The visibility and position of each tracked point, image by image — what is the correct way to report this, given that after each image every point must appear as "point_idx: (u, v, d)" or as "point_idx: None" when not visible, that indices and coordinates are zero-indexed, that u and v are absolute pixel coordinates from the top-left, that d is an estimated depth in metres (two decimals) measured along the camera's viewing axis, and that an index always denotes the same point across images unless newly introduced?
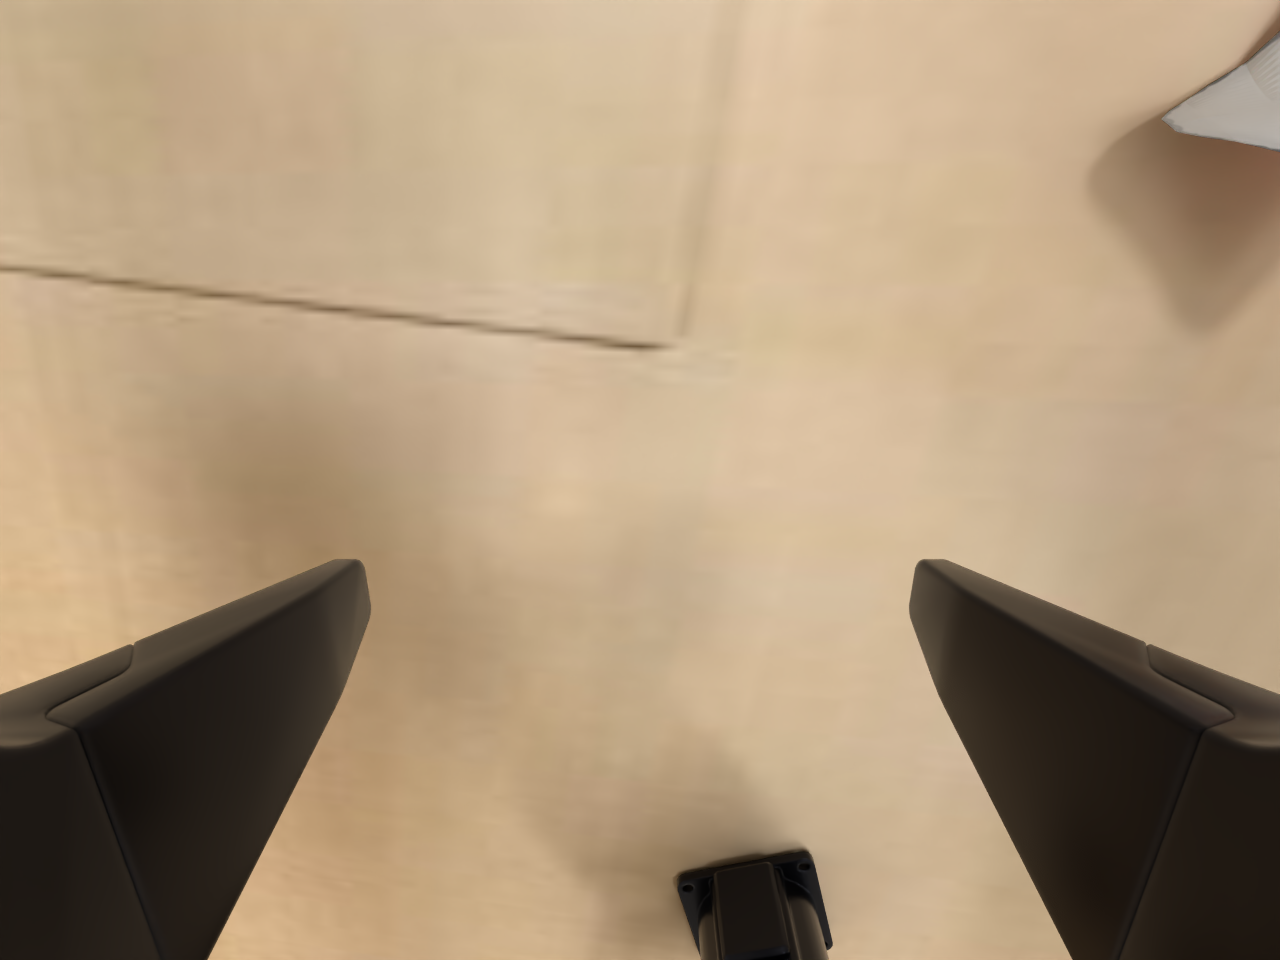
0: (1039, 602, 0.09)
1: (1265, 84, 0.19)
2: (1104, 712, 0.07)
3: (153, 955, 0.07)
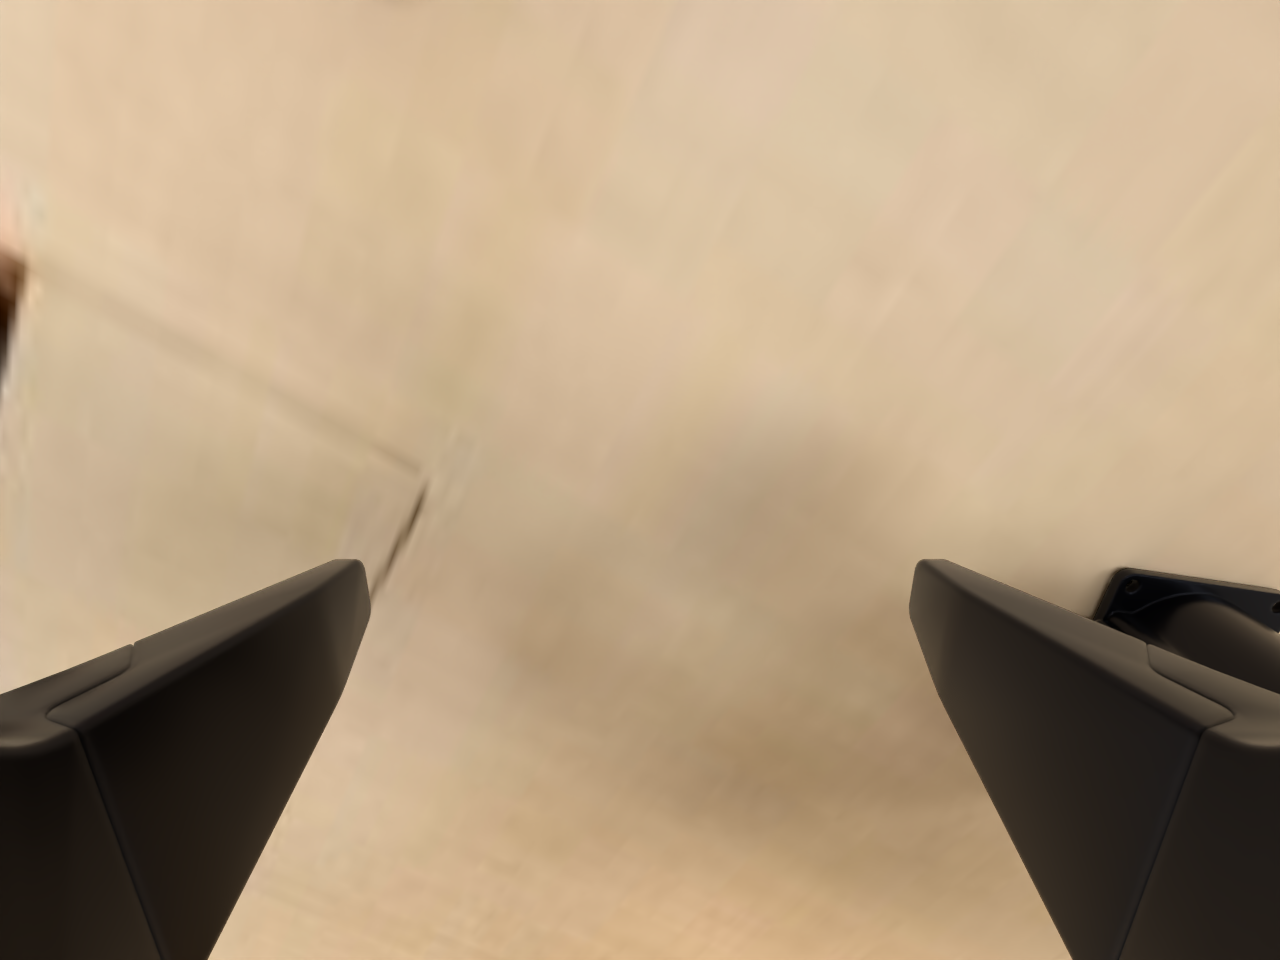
0: (1039, 602, 0.09)
1: None
2: (1104, 712, 0.07)
3: (154, 955, 0.07)
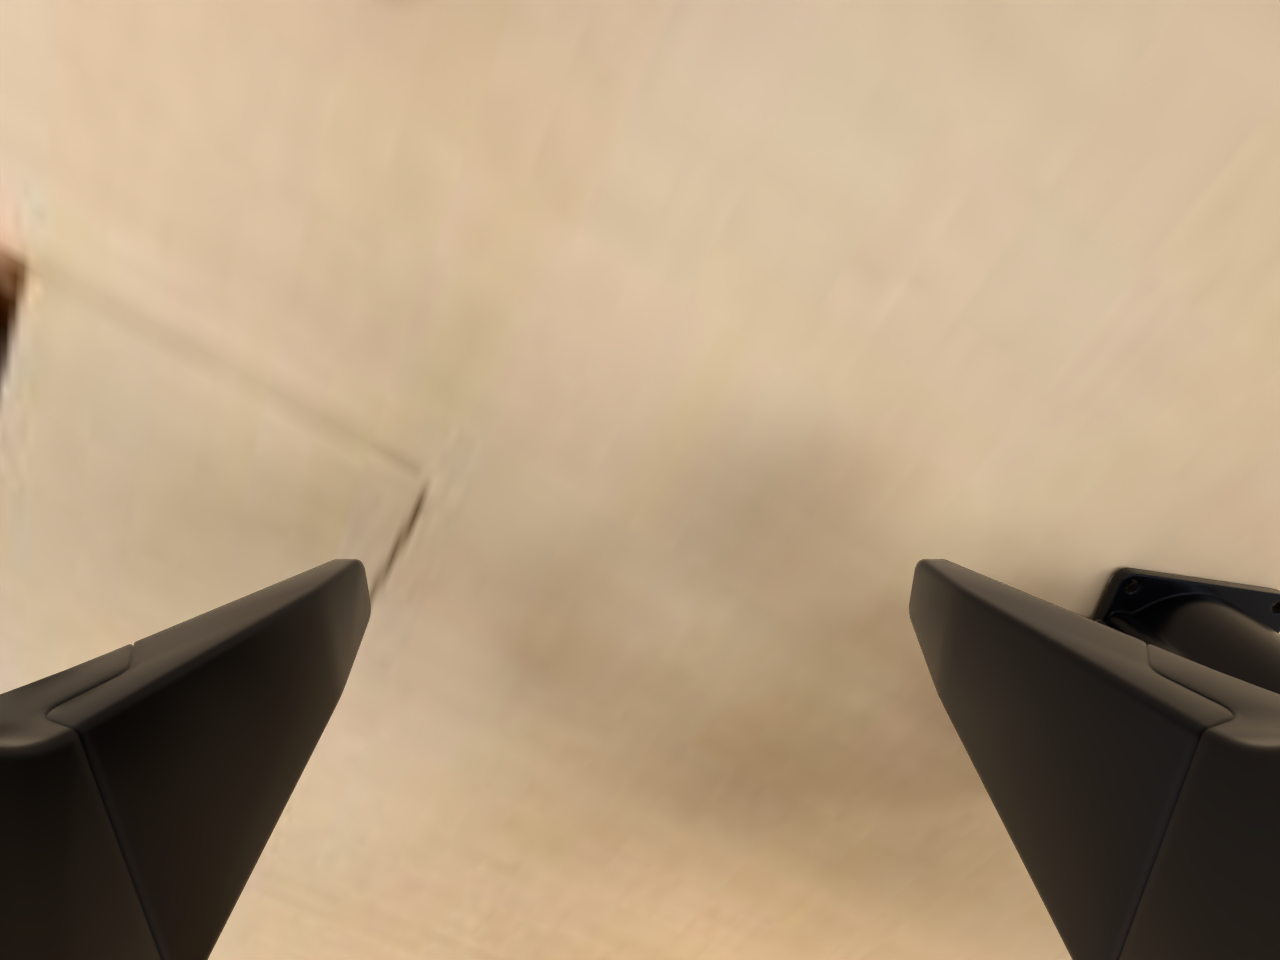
0: (1039, 602, 0.09)
1: None
2: (1104, 712, 0.07)
3: (154, 955, 0.07)
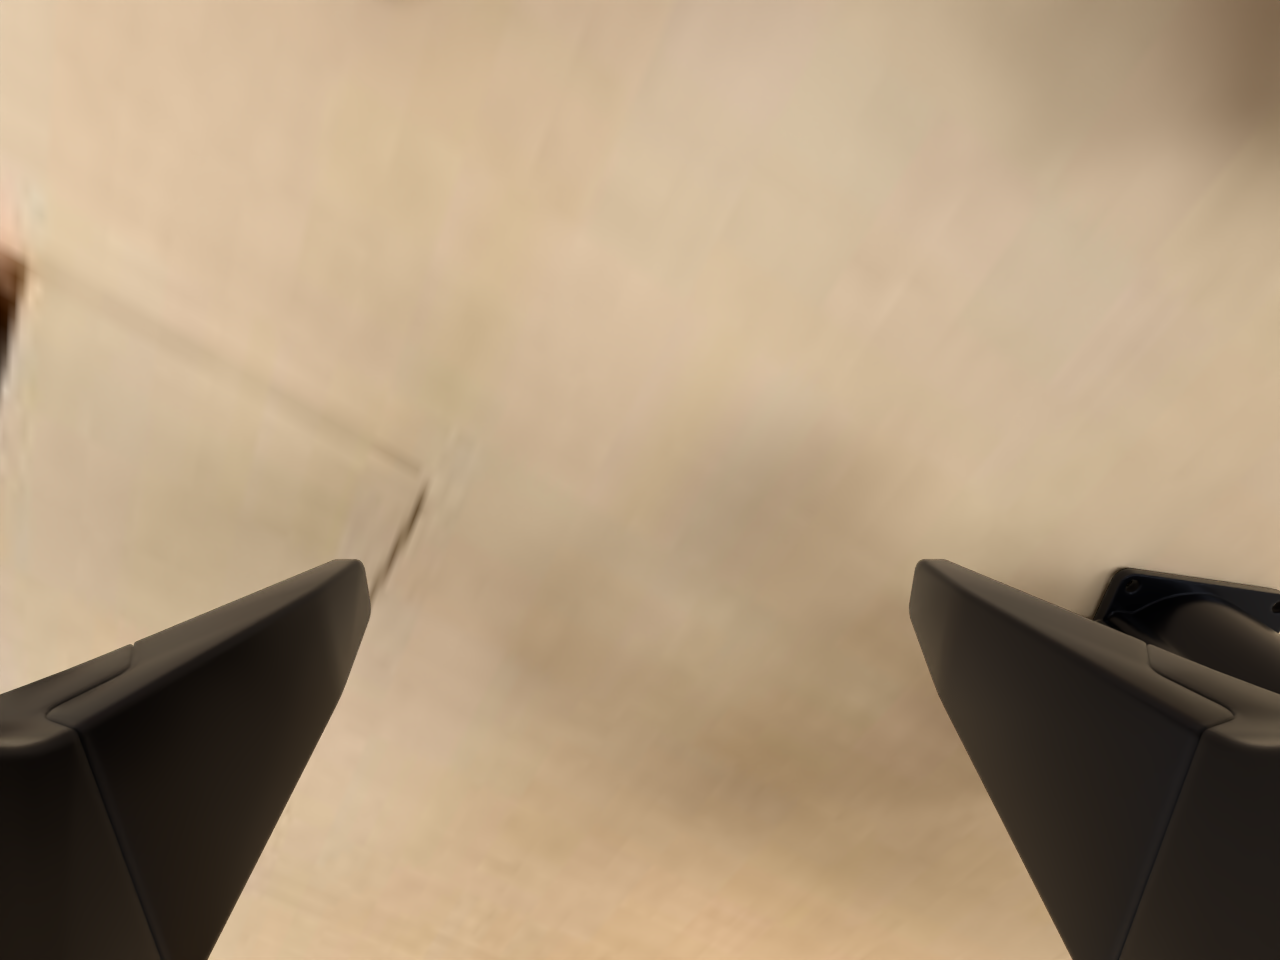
0: (1039, 602, 0.09)
1: None
2: (1104, 712, 0.07)
3: (154, 955, 0.07)
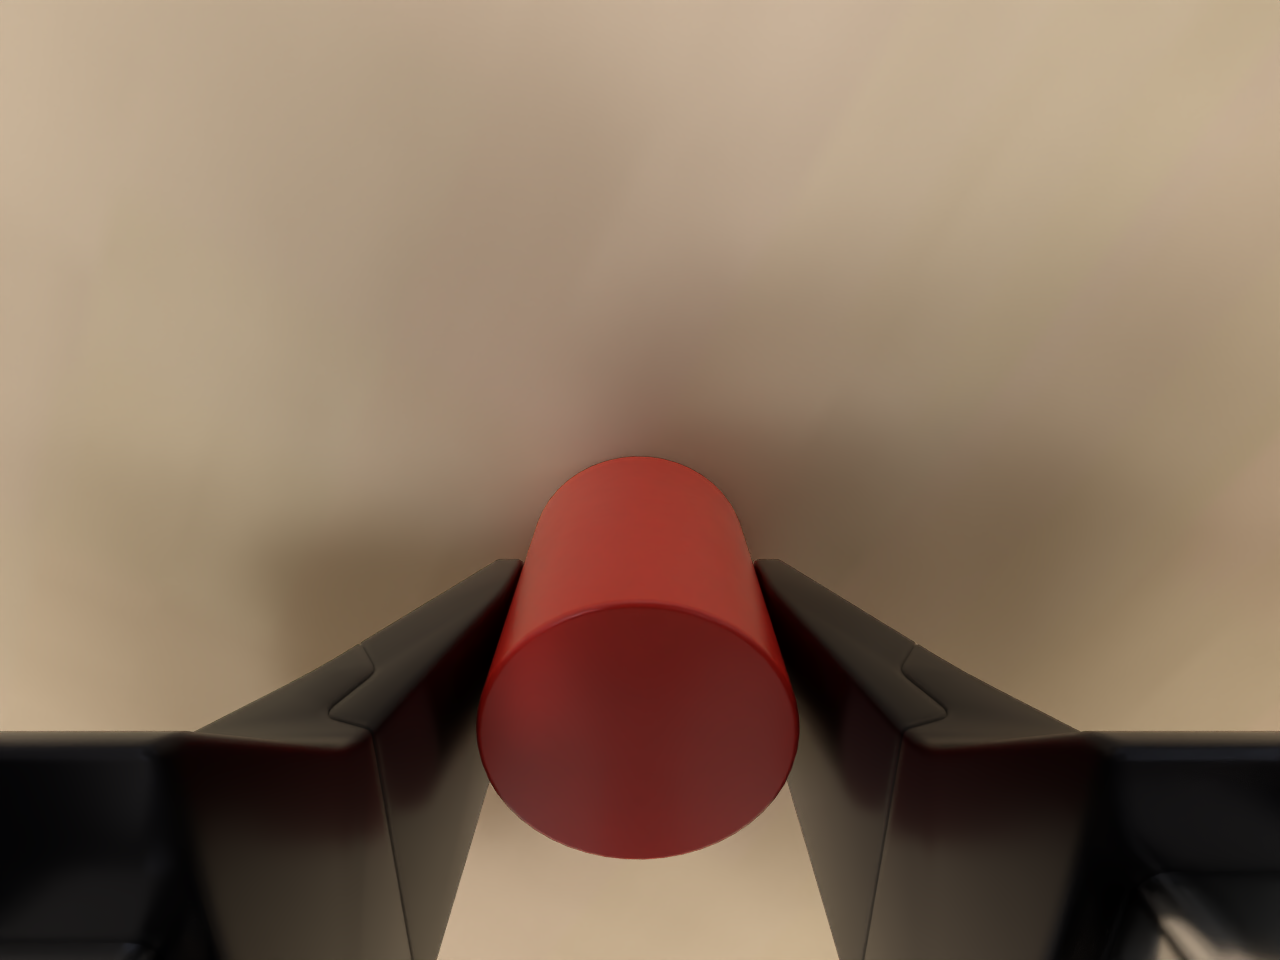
0: (839, 602, 0.09)
1: None
2: (850, 712, 0.07)
3: (401, 954, 0.07)
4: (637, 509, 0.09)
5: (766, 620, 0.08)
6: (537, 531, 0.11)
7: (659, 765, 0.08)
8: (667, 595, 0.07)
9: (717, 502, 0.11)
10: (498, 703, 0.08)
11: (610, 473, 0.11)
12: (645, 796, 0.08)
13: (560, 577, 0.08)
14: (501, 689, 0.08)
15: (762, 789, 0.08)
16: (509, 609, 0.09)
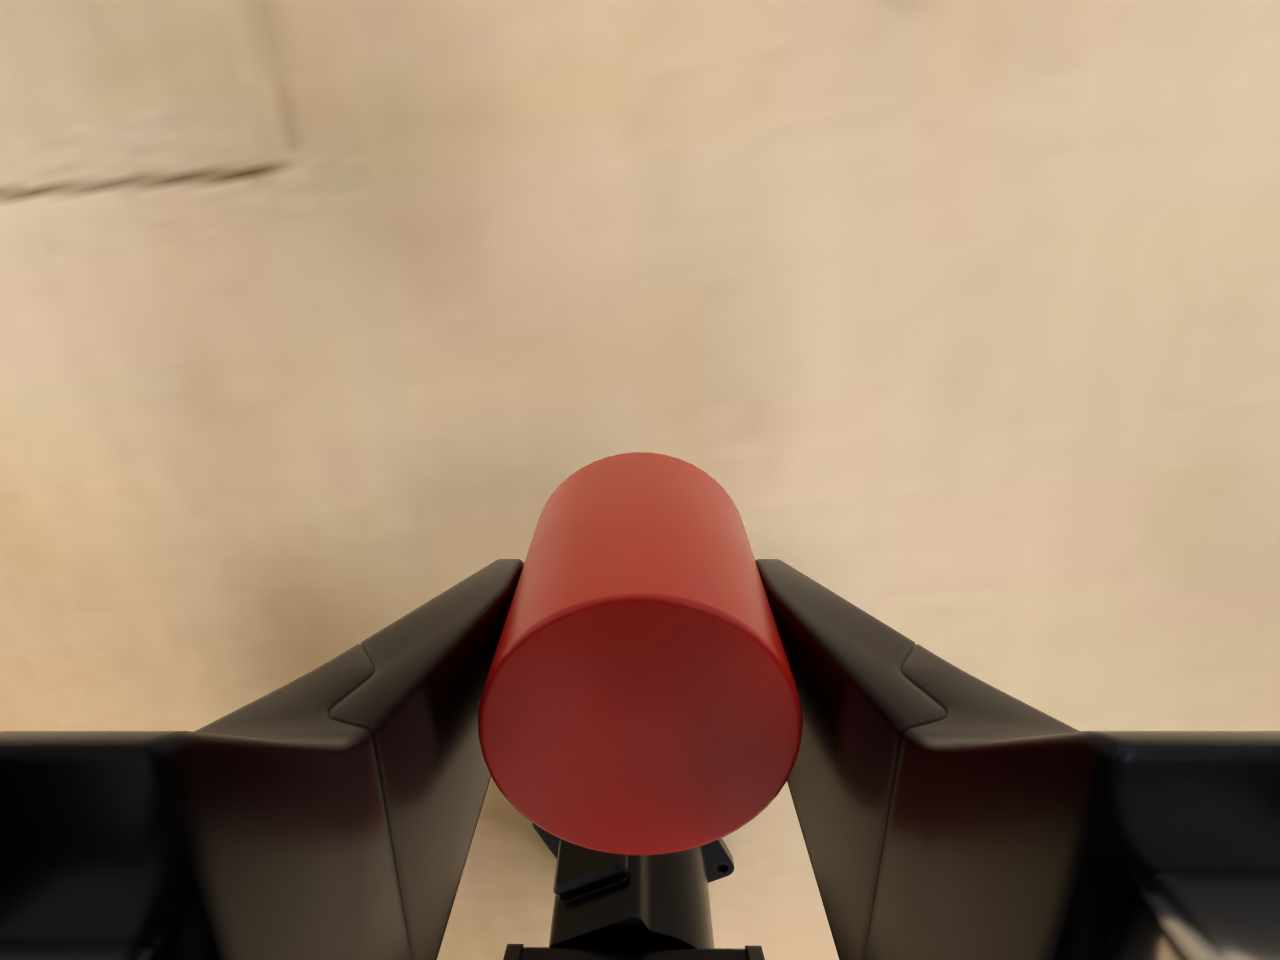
0: (839, 602, 0.09)
1: None
2: (850, 712, 0.07)
3: (400, 955, 0.07)
4: (640, 504, 0.09)
5: (769, 616, 0.08)
6: (539, 527, 0.11)
7: (660, 761, 0.08)
8: (671, 590, 0.07)
9: (719, 498, 0.11)
10: (500, 698, 0.08)
11: (612, 469, 0.11)
12: (647, 792, 0.08)
13: (563, 572, 0.08)
14: (503, 685, 0.08)
15: (765, 785, 0.08)
16: (511, 604, 0.09)
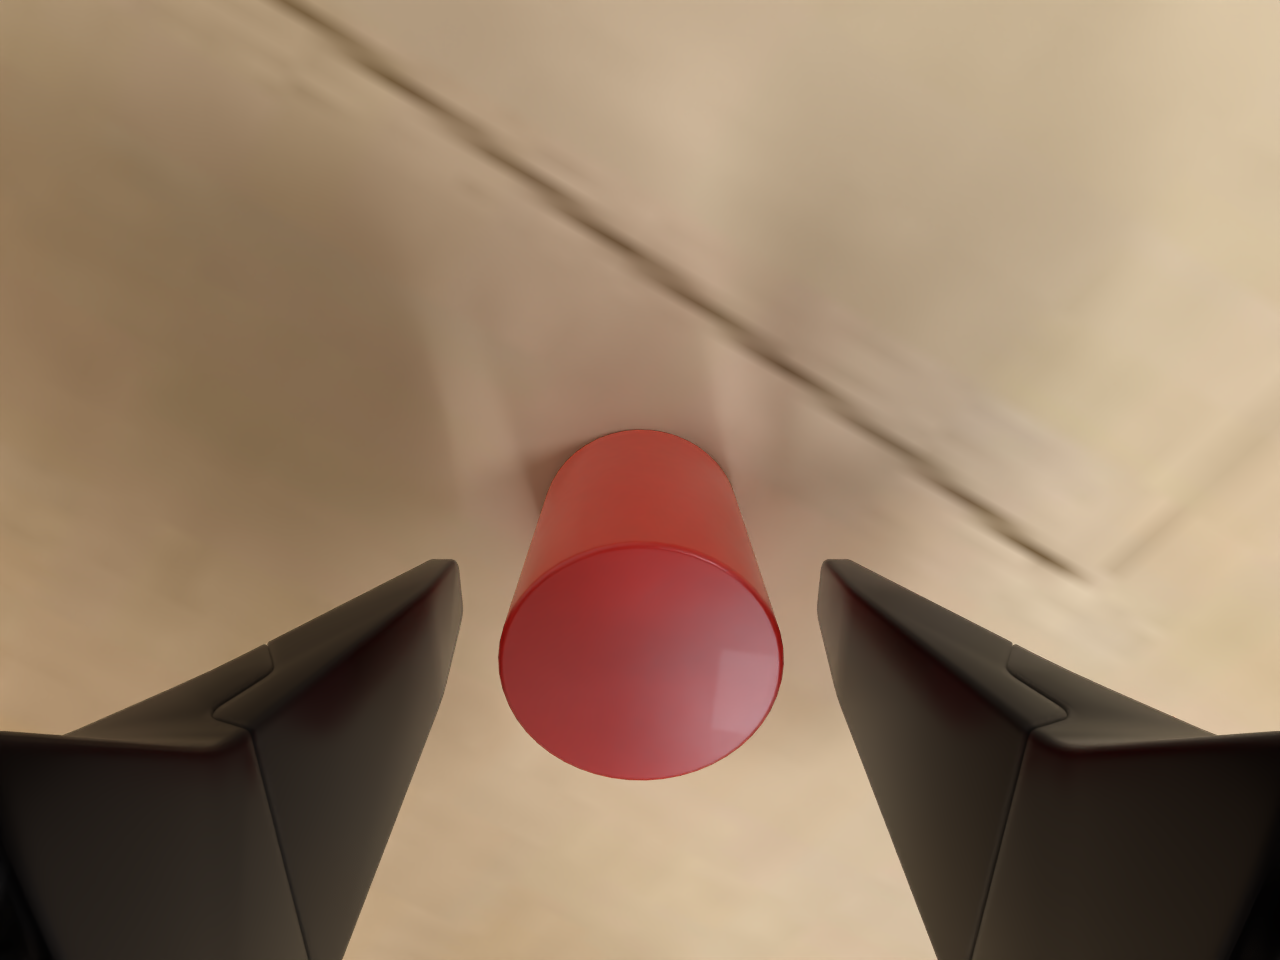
0: (923, 602, 0.09)
1: None
2: (957, 712, 0.07)
3: (298, 955, 0.07)
4: (640, 473, 0.10)
5: (755, 567, 0.09)
6: (548, 496, 0.12)
7: (659, 693, 0.09)
8: (667, 539, 0.08)
9: (712, 470, 0.12)
10: (518, 635, 0.09)
11: (615, 444, 0.12)
12: (647, 721, 0.09)
13: (572, 528, 0.09)
14: (521, 623, 0.09)
15: (751, 715, 0.09)
16: (525, 561, 0.10)
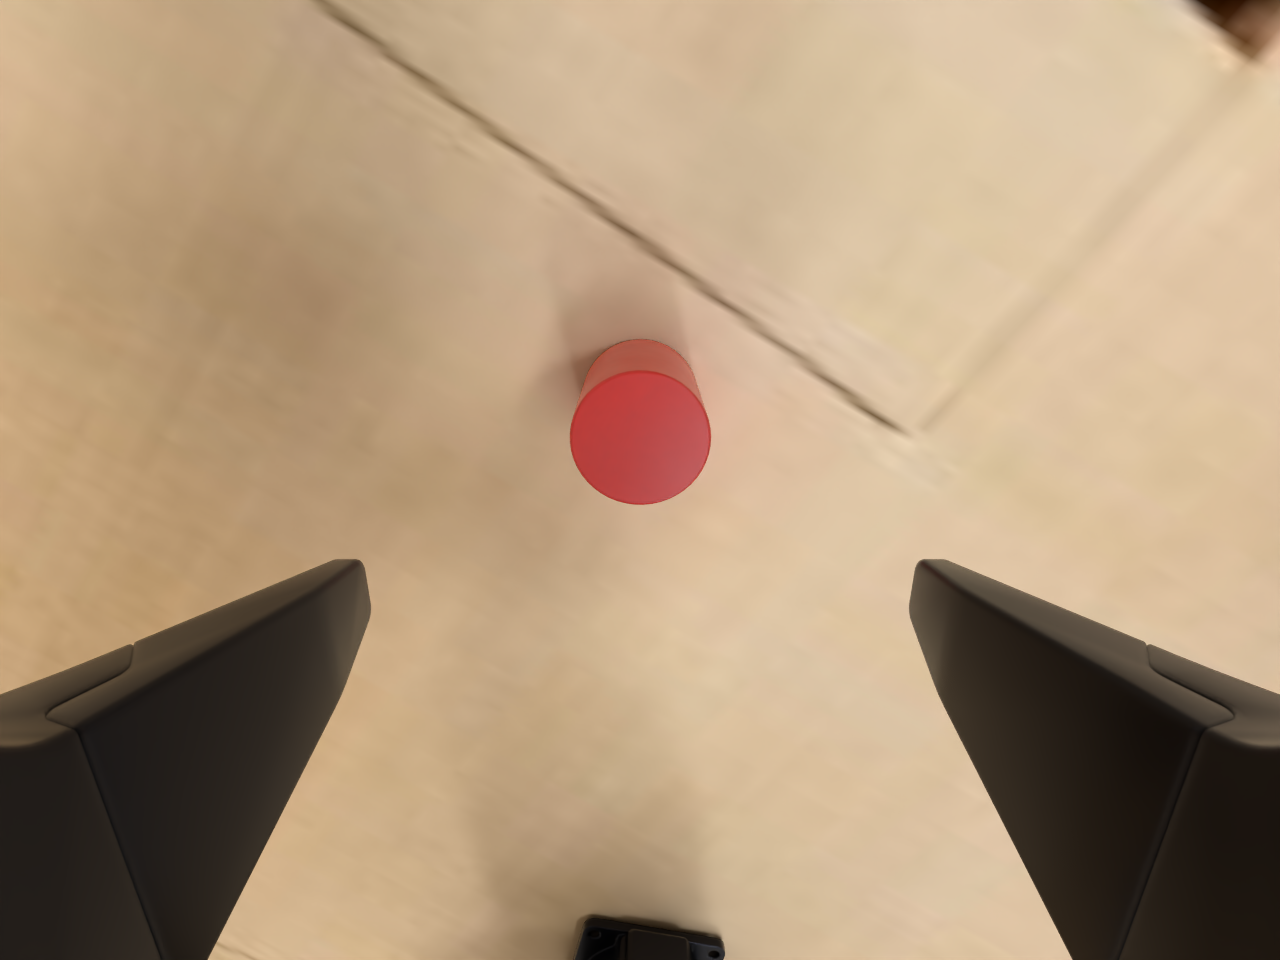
0: (1039, 602, 0.09)
1: None
2: (1104, 712, 0.07)
3: (153, 955, 0.07)
4: (640, 353, 0.20)
5: (698, 394, 0.19)
6: (588, 374, 0.21)
7: (649, 452, 0.18)
8: (652, 370, 0.18)
9: (681, 359, 0.21)
10: (580, 420, 0.18)
11: (625, 344, 0.21)
12: (643, 469, 0.18)
13: (606, 372, 0.18)
14: (582, 413, 0.18)
15: (695, 465, 0.18)
16: (579, 398, 0.19)
